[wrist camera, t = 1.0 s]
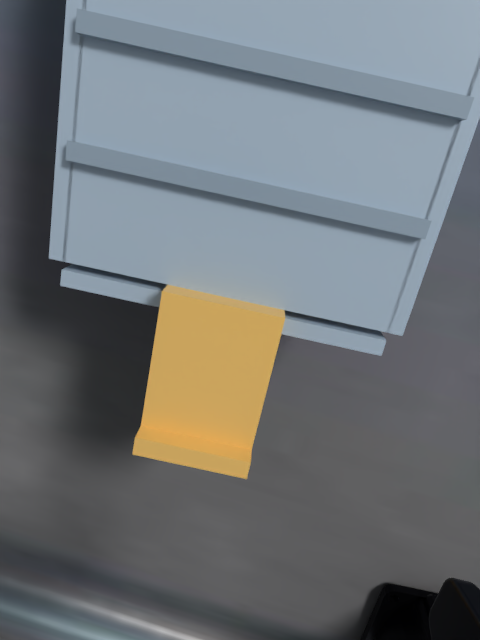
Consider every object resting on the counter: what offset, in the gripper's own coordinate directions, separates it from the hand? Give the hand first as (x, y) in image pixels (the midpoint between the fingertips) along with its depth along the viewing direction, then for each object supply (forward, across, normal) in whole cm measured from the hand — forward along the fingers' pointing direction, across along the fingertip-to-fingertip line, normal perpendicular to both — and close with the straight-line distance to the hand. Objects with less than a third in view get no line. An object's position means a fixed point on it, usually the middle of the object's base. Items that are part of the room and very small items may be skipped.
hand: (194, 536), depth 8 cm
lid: (+8, +1, -6) cm, 10 cm away
